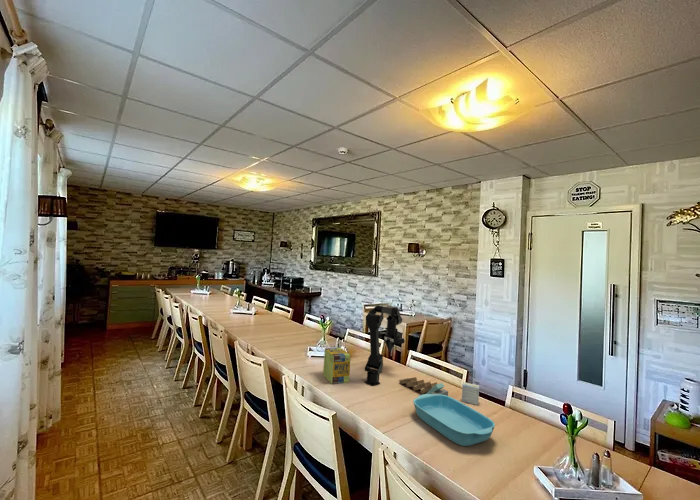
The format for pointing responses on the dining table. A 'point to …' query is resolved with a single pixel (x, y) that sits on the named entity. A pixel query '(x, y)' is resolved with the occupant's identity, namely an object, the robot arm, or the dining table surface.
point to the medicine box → (470, 393)
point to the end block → (441, 392)
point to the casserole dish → (453, 419)
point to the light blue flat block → (435, 388)
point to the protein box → (336, 365)
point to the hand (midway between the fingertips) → (389, 351)
